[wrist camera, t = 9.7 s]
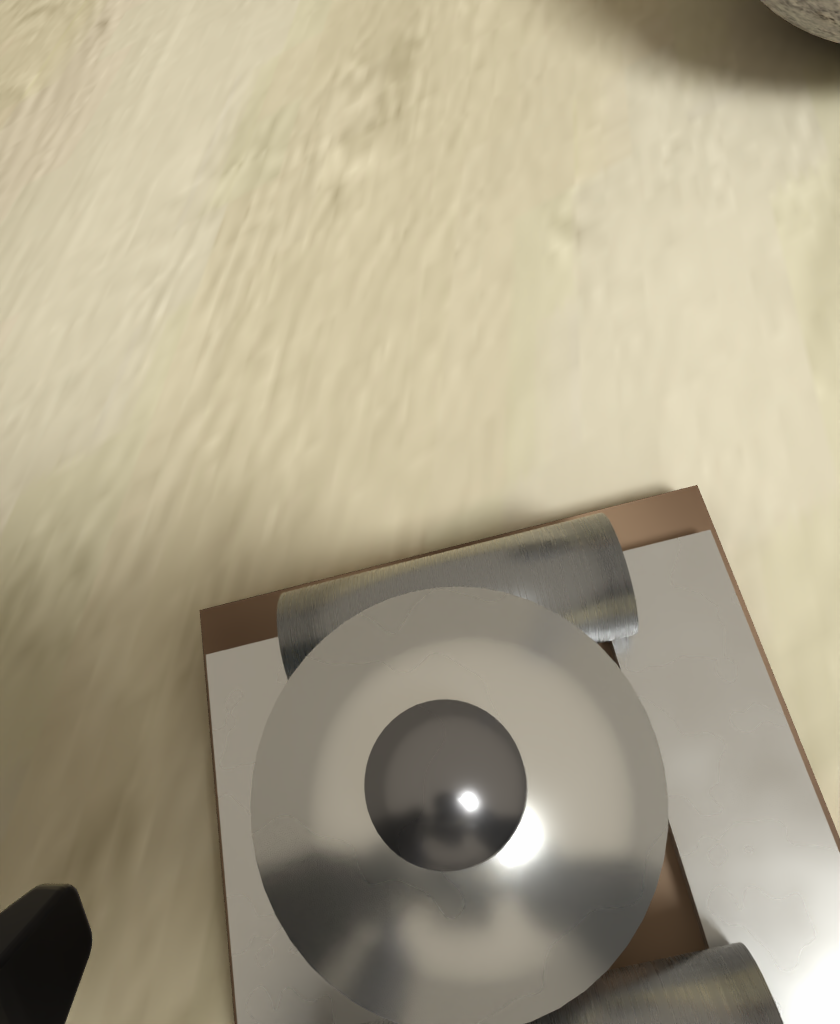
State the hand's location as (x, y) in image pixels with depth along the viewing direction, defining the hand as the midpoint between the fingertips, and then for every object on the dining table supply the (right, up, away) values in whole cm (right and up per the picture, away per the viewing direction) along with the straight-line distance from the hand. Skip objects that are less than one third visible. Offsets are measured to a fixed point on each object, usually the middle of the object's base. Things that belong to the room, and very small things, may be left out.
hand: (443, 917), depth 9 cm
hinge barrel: (+2, -3, +9) cm, 10 cm away
